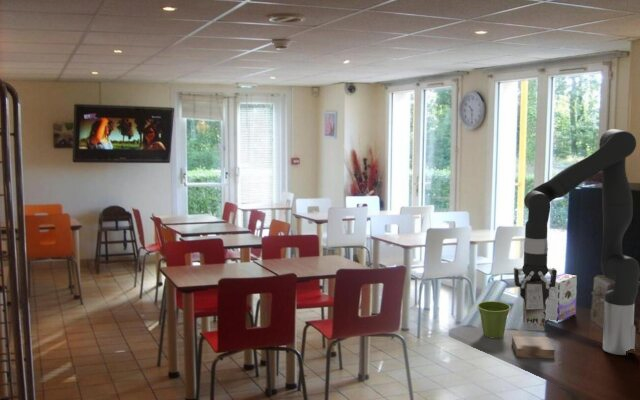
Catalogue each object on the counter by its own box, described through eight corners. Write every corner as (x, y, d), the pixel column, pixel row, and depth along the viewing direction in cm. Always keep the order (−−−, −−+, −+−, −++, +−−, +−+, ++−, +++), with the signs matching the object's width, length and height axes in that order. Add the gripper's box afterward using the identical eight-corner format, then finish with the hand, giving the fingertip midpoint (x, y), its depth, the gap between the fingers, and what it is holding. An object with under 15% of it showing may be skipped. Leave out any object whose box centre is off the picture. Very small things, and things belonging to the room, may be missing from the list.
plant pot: (470, 334, 246) (470, 305, 244) (492, 327, 252) (492, 299, 250) (494, 343, 236) (495, 313, 234) (517, 336, 242) (517, 306, 240)
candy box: (562, 312, 268) (564, 272, 266) (576, 315, 264) (577, 275, 261) (544, 320, 259) (545, 279, 257) (557, 323, 255) (559, 282, 252)
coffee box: (545, 331, 221) (546, 284, 219) (525, 330, 223) (526, 283, 220) (541, 322, 230) (543, 277, 228) (522, 321, 232) (523, 276, 229)
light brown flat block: (547, 345, 233) (547, 337, 232) (554, 358, 221) (554, 349, 221) (512, 344, 235) (512, 336, 234) (517, 357, 223) (517, 348, 222)
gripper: (555, 248, 225) (553, 295, 228) (511, 247, 227) (510, 294, 230) (560, 253, 218) (558, 302, 220) (515, 252, 220) (514, 301, 222)
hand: (534, 298), depth 225 cm, fingers closed on coffee box, 6 cm apart
